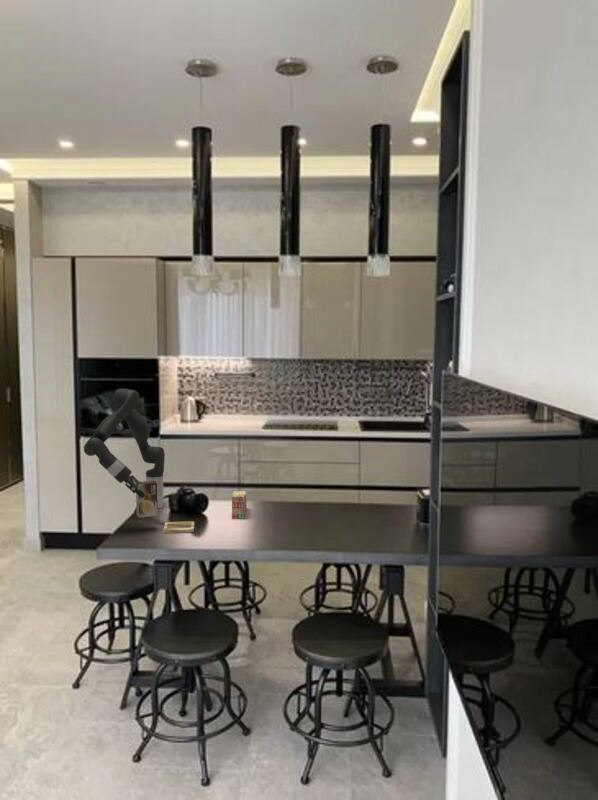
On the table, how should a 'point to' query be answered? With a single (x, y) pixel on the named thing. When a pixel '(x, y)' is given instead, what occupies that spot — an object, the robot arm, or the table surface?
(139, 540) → the table surface
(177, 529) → the birch plate
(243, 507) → the printed cardboard box
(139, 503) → the coffee box
